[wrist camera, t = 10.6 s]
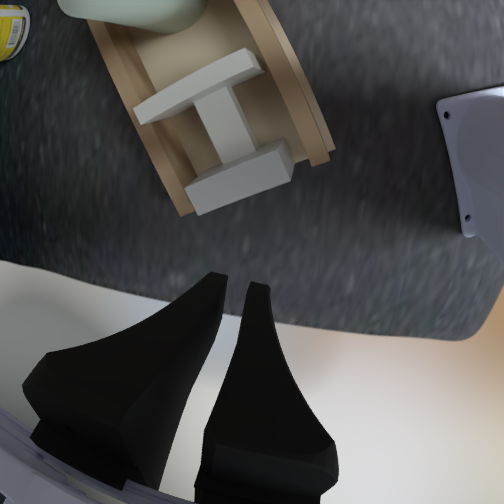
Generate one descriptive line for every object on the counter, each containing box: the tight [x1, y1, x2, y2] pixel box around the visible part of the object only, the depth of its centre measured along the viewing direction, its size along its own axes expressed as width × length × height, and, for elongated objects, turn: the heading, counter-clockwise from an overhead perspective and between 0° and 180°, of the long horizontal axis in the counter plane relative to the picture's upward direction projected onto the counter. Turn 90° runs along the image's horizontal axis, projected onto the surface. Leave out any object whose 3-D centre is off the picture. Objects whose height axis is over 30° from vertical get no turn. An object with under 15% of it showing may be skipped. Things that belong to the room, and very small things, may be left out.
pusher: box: [133, 48, 295, 216], centre depth 16 cm, size 6×6×4 cm
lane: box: [86, 0, 336, 217], centre depth 14 cm, size 22×10×4 cm, turn 24°
